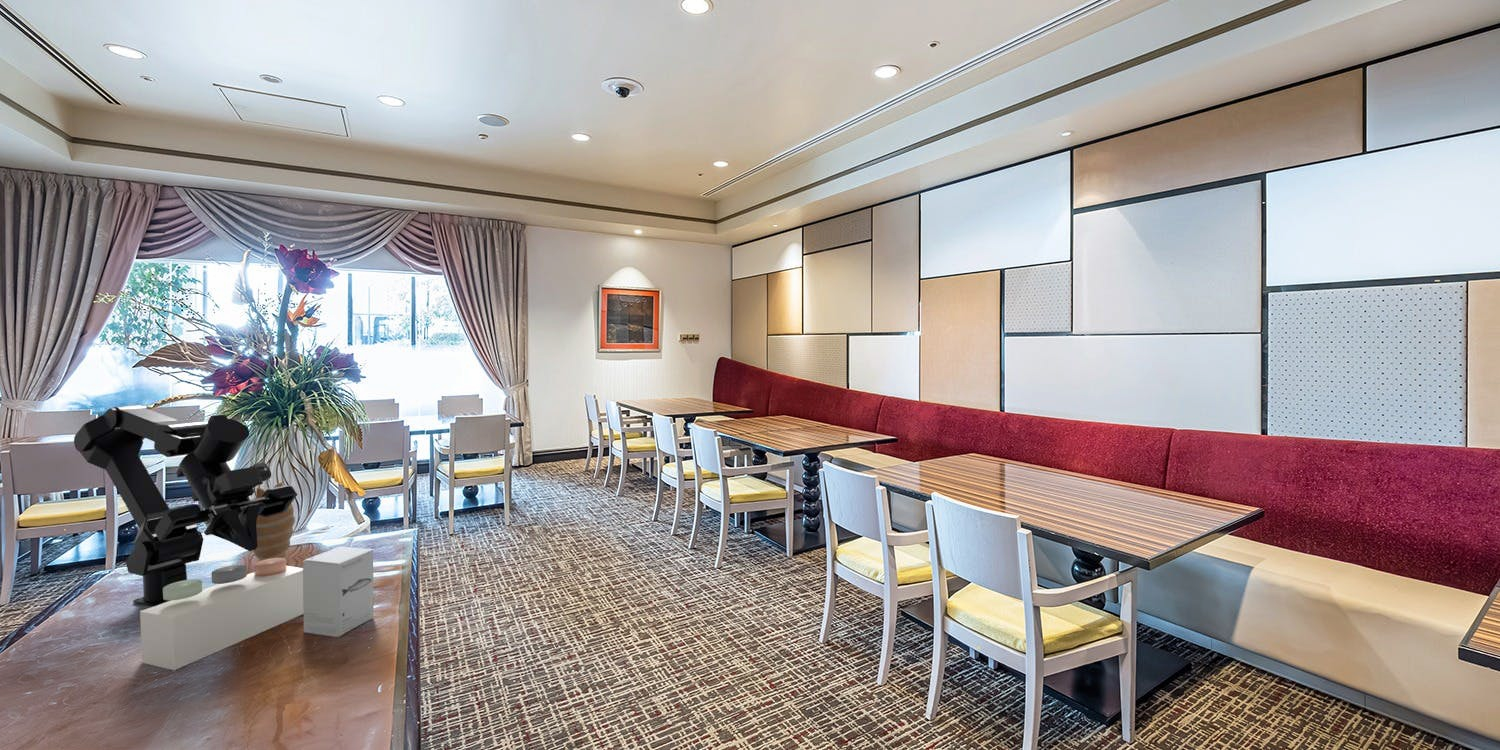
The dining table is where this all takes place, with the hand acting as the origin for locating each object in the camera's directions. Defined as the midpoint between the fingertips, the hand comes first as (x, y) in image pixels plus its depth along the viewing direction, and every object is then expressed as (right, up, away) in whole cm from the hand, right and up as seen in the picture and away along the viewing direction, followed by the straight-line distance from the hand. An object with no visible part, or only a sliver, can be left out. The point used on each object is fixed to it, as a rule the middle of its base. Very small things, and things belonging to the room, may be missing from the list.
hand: (253, 549), depth 101 cm
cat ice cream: (-17, -12, +25) cm, 33 cm away
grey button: (-2, -4, -3) cm, 5 cm away
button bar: (-1, -13, -3) cm, 14 cm away
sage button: (-3, -4, -9) cm, 11 cm away
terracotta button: (0, -5, +3) cm, 6 cm away
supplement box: (+14, -14, +1) cm, 20 cm away
